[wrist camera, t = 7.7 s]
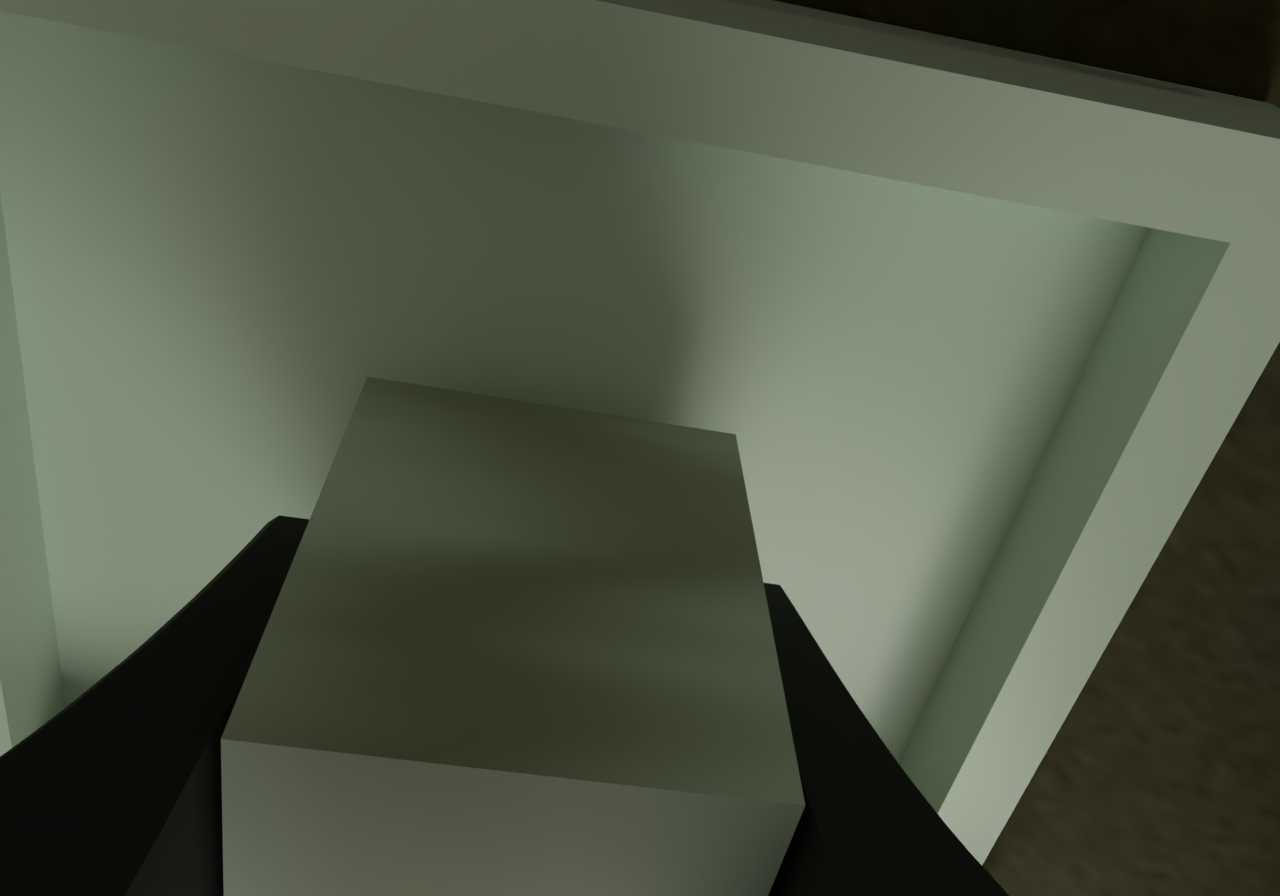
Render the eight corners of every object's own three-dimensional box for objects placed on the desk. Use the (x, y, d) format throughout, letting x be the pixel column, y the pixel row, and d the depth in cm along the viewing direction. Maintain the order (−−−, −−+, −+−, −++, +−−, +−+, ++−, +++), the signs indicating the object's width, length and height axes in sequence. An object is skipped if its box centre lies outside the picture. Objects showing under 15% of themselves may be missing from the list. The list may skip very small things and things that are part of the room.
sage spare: (735, 434, 12) (806, 804, 8) (661, 693, 14) (684, 1098, 10) (366, 376, 11) (220, 738, 7) (348, 654, 13) (226, 1063, 9)
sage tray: (1268, 102, 11) (1382, 160, 10) (908, 827, 18) (940, 938, 16) (-127, -187, 10) (-280, -178, 8) (19, 727, 16) (-50, 840, 14)
